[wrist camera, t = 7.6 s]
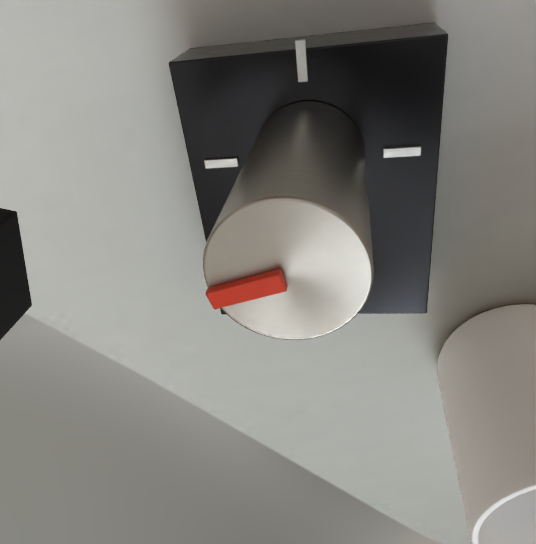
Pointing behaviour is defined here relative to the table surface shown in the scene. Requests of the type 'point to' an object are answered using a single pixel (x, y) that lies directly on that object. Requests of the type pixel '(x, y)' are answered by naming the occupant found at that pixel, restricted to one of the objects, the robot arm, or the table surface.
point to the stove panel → (351, 101)
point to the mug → (494, 421)
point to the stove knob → (295, 228)
